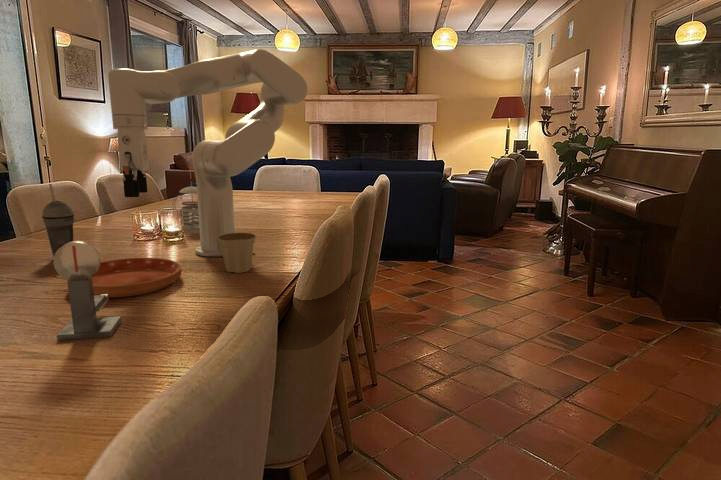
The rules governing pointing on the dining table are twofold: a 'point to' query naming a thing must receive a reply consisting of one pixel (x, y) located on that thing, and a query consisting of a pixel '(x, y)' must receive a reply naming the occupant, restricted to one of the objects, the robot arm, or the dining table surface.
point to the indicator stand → (82, 292)
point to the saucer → (134, 276)
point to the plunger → (104, 302)
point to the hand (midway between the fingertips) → (136, 194)
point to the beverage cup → (58, 223)
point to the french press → (189, 209)
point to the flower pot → (237, 251)
